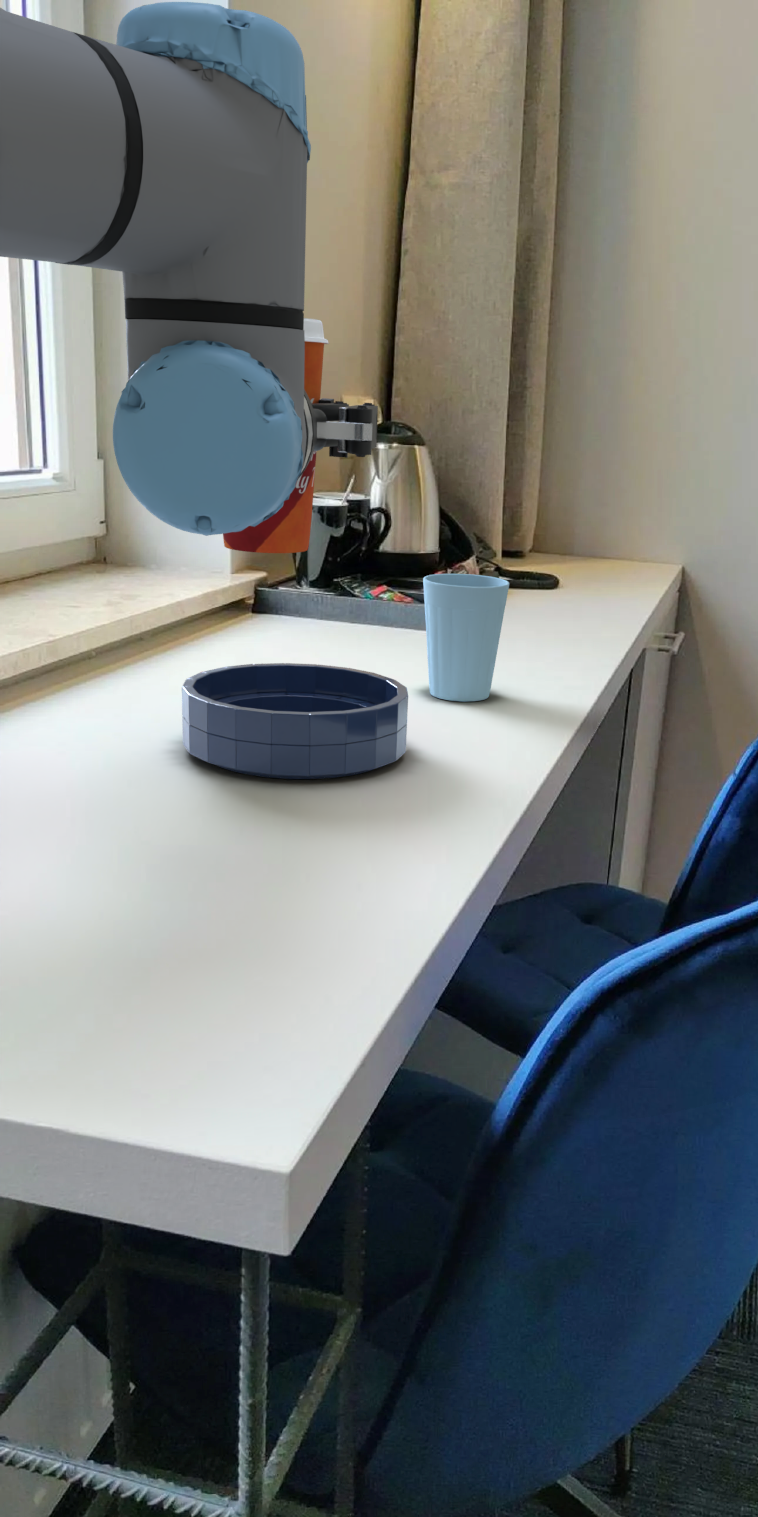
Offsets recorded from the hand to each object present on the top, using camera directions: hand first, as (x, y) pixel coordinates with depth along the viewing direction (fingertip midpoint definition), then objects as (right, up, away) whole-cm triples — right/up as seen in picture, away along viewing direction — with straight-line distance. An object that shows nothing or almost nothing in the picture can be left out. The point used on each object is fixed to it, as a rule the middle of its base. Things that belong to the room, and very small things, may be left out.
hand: (272, 416), depth 87 cm
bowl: (0, -22, +11) cm, 24 cm away
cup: (+13, -14, +32) cm, 37 cm away
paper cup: (0, -9, -2) cm, 10 cm away
